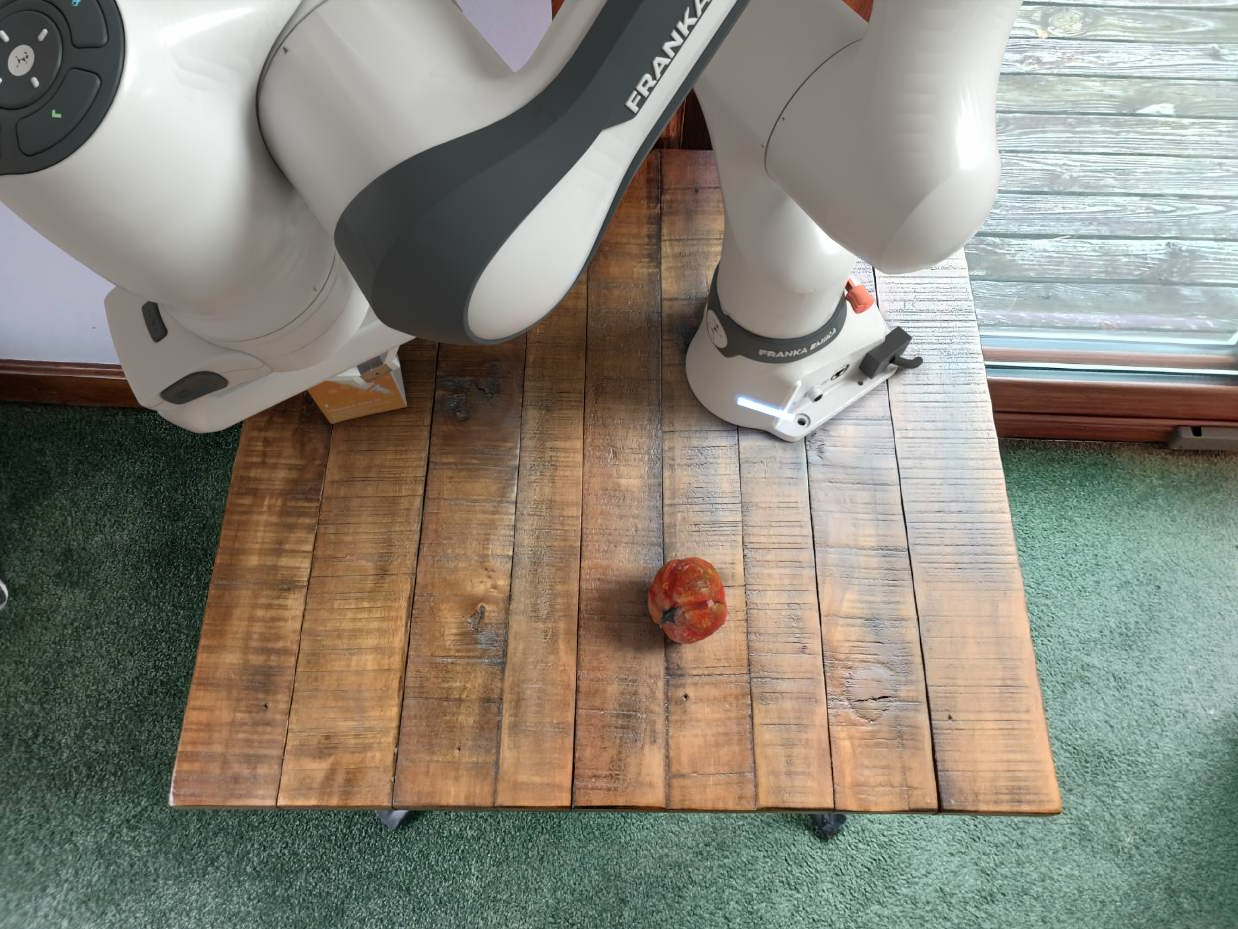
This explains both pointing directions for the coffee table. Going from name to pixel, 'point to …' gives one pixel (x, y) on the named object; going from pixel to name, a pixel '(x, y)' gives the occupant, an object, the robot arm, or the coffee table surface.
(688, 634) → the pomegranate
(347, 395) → the small box
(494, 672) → the coffee table surface
